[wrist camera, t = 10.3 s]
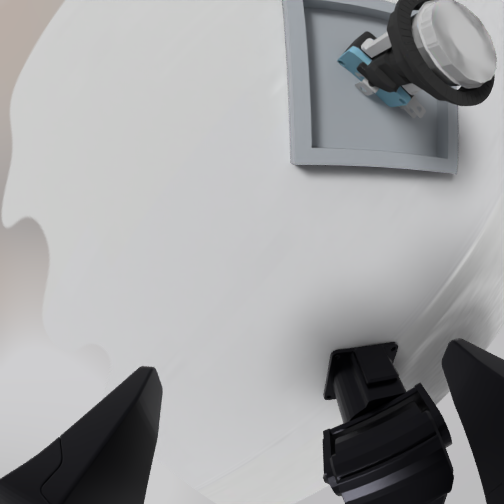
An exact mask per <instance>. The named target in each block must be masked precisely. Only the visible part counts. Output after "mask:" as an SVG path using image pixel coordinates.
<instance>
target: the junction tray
mask: <svg viewBox="0 0 504 504" xmlns="http://www.w3.org/2000/svg"><path fill="white" fill-rule="evenodd" d="M282 4H283V16H284V29H285V43H286V58H287V76H288V97H289V123H290V162H291V163H292V164H294V165H346V166H370V167H387V168H401V169H413V170H424V171H433V172H442V173H451V174H457V166H458V105H455V104H451V103H449V102H447V101H439V100H437V99H435V98H434V97H433V96H431V95H430V94H428V93H427V92H425V91H424V90H419V91H418V92H417V94H415V96H416V97H417V98H416V100H417V101H418V102H419V103H420V104H421V105H422V106H423V107H424V109H425V110H426V112H425V114H424V115H423V117H422V118H419V117H418V115H417V116H416V117H415V118H412V117H411V116H410V115H409V114H408V113H407V111H406V110H405V109H404V108H403V109H401V108H400V107H399V106H396V107H389V106H388V105H387V104H385V103H384V102H383V101H382V100H381V99H380V98H379V97H378V96H377V95H376V94H375V93H374V94H371V95H368V96H367V95H365V94H364V93H362V92H361V91H360V90H359V89H358V88H357V87H356V86H355V84H356V83H358V82H360V80H359V79H358V78H357V77H356V76H354V75H353V74H352V73H351V72H350V71H348V70H347V69H346V68H345V67H343V66H342V65H340V64H339V63H338V61H337V60H338V59H339V58H340V56H341V55H342V54H343V53H344V52H345V51H346V49H347V48H348V47H349V46H350V45H351V44H352V43H353V41H354V40H356V39H357V38H358V37H359V36H360V35H362V34H363V33H364V32H365V31H368V32H370V33H372V34H373V35H374V36H375V37H376V38H378V37H380V36H381V35H383V34H384V33H386V32H387V25H388V21H389V17H390V14H391V13H392V12H394V9H395V6H396V4H395V3H391V2H387V1H383V0H282ZM417 13H418V11H417V10H413V11H412V14H411V16H413V15H415V14H417ZM361 88H362V89H363V90H364V91H366V90H365V89H364V88H363V87H361ZM452 88H454V89H456V86H452ZM456 90H457V89H456ZM417 109H418V110H419V112H421V108H420V107H419V106H418V107H417ZM410 112H411V113H413V112H414V111H413V110H412V109H411V108H410Z"/></svg>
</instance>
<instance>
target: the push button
mask: <svg viewBox="0 0 504 504" xmlns="http://www.w3.org/2000/svg"><path fill="white" fill-rule="evenodd" d="M413 10H418V13H417V14H415V15H413V16H411V14H412V11H413ZM337 61H338V63H339V64H340V65H342V66H343V67H345V68H346V69H347V70H348V71H350V72H351V73H352V74H353V75H354V76H356V77H357V78H358V79H359V80H360V82H358V83H356V84H355V86H356V87H357V88H358V89H359V90H360V91H361V92H362V93H364V94H365V95H367V96H368V95H371V94H374V93H375V94H376V95H377V96H378V97H379V98H380V99H381V100H382V101H383V102H384V103H385V104H387V105H388V106H389V107H396V106H399V107H400V108H401V109H403V108H404V109H405V110H406V111H407V113H408V114H409V115H410V116H411V117H412V118H415V117H416V116H417V115H418V117H419V118H422V117H423V115H424V114H425V112H426V110H425V109H424V107H423V106H422V105H421V104H420V103H419V102H418V101H417V100H416V98H417V97H416V96H415V94H417V92H418V91H419V90H424V91H425V92H427V93H428V94H430V95H431V96H433V97H434V98H435V99H437V100H439V101H447V102H449V103H451V104H455V105H459V106H473V105H477V104H480V103H481V102H483V101H484V100H485V99H486V98H487V97H488V96H489V94H490V92H491V90H492V87H493V84H494V77H495V71H496V62H497V57H496V51H495V48H494V45H493V42H492V39H491V36H490V35H489V33H488V31H487V30H486V28H485V27H484V25H483V24H482V22H481V21H480V19H479V18H478V17H477V16H476V15H475V14H473V13H472V12H471V11H470V10H469V9H468V8H467V7H466V6H464V5H463V4H460V3H458V2H456V1H454V0H399V1H398V2H397V4H396V6H395V9H394V12H392V13H391V14H390V17H389V21H388V25H387V32H386V33H384V34H383V35H381V36H380V37H378V38H376V37H375V36H374V35H373V34H372V33H370V32H368V31H365V32H364V33H363V34H362V35H360V36H359V37H358V38H357V39H356V40H354V41H353V43H352V44H351V45H350V46H349V47H348V48H347V49H346V51H345V52H344V53H343V54H342V55H341V56H340V58H339V59H338V60H337ZM459 85H460V86H461V87H460V89H458V90H456V89H454V88H452V86H459ZM361 87H363V88H364V89H365V90H366V91H364V90H363V89H362V88H361ZM418 106H419V107H420V108H421V112H419V110H418V109H417V107H418ZM410 108H411V109H412V110H413V111H414V112H413V113H411V112H410Z"/></svg>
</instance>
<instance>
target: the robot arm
mask: <svg viewBox="0 0 504 504" xmlns="http://www.w3.org/2000/svg"><path fill="white" fill-rule="evenodd" d="M392 347H393V348H392ZM397 349H398V346H397V344H396V343H395V342H391V343H385V344H378V345H372V346H365V347H357V348H350V349H341V350H335V351H333V352H332V353H331V356H330V362H329V368H328V373H327V379H326V384H325V389H324V394H323V395H324V399H325V400H332V399H337V403H338V406H339V410H340V413H341V417H342V420H343V424H342V425H339V426H337V427H334V428H332V429H327V430H325V431H323V435H324V439H323V460H324V476H323V479H324V481H325V483H328V484H330V486H331V488H332V489H333V491H334V493H335V494H336V495H338V496H342V497H343V499H344V502H345V504H444V502H445V499H446V496H447V493H449V492H450V491H451V489H452V484H453V480H454V475H453V467H452V464H451V461H450V459H449V456H448V453H447V451H446V447H448V446H449V445H451V444H452V440H451V436H450V433H449V430H448V427H447V425H446V423H445V421H444V419H443V417H442V415H441V413H440V411H439V410H438V408H437V407H436V405H435V404H434V402H433V401H432V399H431V398H430V396H429V395H428V393H427V392H426V390H425V389H424V387H423V386H422V384H421V383H419V384H417V385H415V387H414V388H412V389H411V390H409V391H407V392H406V390H405V388H404V386H403V384H402V382H401V380H400V379H399V374H398V372H397V371H396V369H395V367H394V365H393V361H394V359H395V355H396V352H397ZM336 355H338V356H336ZM442 368H443V371H444V373H445V376H446V379H447V383H448V386H449V389H450V392H451V395H452V398H453V401H454V404H455V407H456V409H457V412H458V414H459V417H460V419H461V422H462V425H463V427H464V430H465V433H466V436H467V438H468V441H469V444H470V447H471V449H472V453H473V456H474V459H475V462H476V465H477V468H478V472H479V475H480V479H481V482H482V486H483V490H484V494H485V498H486V502H487V504H504V360H503V359H501V358H499V357H497V356H495V355H493V354H491V353H489V352H487V351H485V350H483V349H481V348H479V347H477V346H475V345H473V344H471V343H469V342H467V341H465V340H463V339H460V338H459V339H455V340H452V341H450V342H449V344H448V346H447V349H446V351H445V354H444V356H443V358H442ZM162 392H163V391H162V385H161V382H160V379H159V376H158V373H157V371H156V369H155V368H154V367H147V366H141V367H139V368H138V369H137V370H136V371H135V372H134V373H132V374H131V375H130V376H129V377H128V378H127V379H126V380H124V381H123V382H122V383H121V384H120V385H119V386H118V387H116V388H115V389H114V390H113V391H112V392H111V393H110V394H108V395H107V396H106V397H105V398H104V399H103V400H102V401H101V402H99V403H98V404H97V405H96V406H95V407H93V408H92V409H91V410H90V411H89V412H88V413H87V414H85V415H84V416H83V417H82V418H81V419H80V420H78V421H77V422H76V423H75V424H74V425H72V426H71V427H70V428H69V429H68V430H67V431H65V432H64V434H62V435H61V436H60V437H58V438H57V439H56V440H55V441H54V442H52V443H51V444H50V445H49V446H48V447H46V448H45V449H44V450H42V451H41V452H40V453H39V454H38V455H36V456H34V457H33V458H32V459H30V460H29V461H27V462H26V463H24V464H23V465H21V466H20V467H18V468H17V469H15V470H13V471H12V472H10V473H9V474H7V475H6V476H4V477H2V478H1V479H0V504H144V499H145V494H146V489H147V484H148V480H149V475H150V470H151V465H152V461H153V456H154V452H155V447H156V443H157V437H158V429H159V420H160V410H161V402H162Z"/></svg>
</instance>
